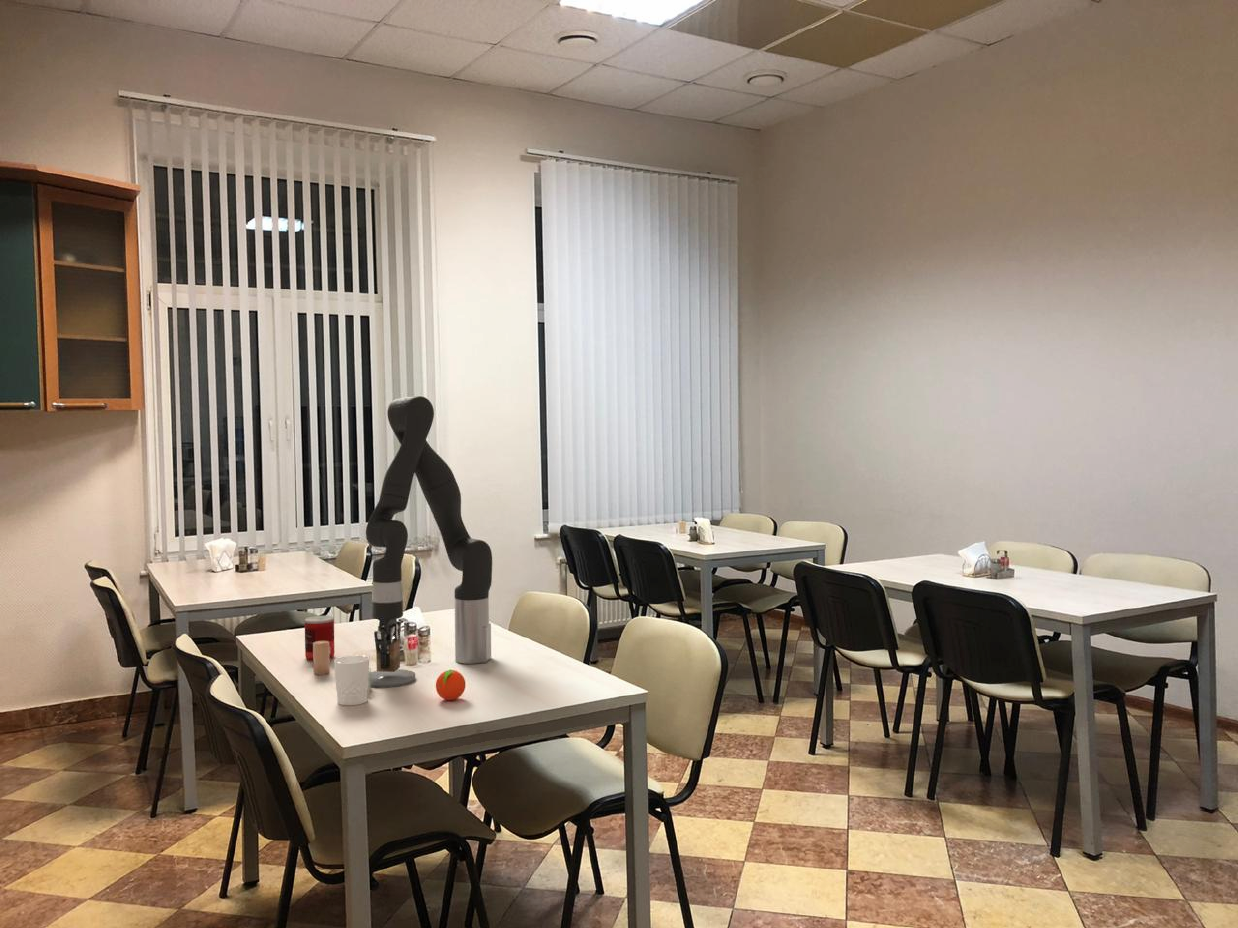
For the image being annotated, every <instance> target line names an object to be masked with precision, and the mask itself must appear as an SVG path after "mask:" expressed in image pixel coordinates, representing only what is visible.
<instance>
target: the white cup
mask: <svg viewBox="0 0 1238 928" xmlns="http://www.w3.org/2000/svg"><path fill="white" fill-rule="evenodd" d="M333 662H334V679H335V680H334V681H335V690H336V697H337V698H336V699H337V704H338V705H340V706H357V705H362V704H365V703H366V702H367V701H368V696H369V694H368V683H369V668H370V657H369V656H367V655H363V654H362V655H360V654H359V655H357V654H356V655H355V654H353V655H345V656H339V657H336V658H335V659H334V660H333Z"/></svg>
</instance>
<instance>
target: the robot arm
mask: <svg viewBox="0 0 1238 928" xmlns="http://www.w3.org/2000/svg"><path fill="white" fill-rule="evenodd" d="M433 406H434V405H433V404H432V402H431V401H430V400H429V399H428V398H427V397H425V396H419V395H416V396H407V397H401V398H396V399H394V400H392V401H391V402H390V403H389V405H388V408H387V419H388V422H389V426H390V428H391V430H392V431H393V433H394V435H395V437H396V438H397V441H398V442H399V444H400V447H399V449H398V451H397V453H396V454H395V456H394V458H393V459H392V461H391V463H390V465H389V466H388V468H387V470H386V472H385V475H384V478H383V481H382V485H381V486H382V487H381V490H380V495H379V500H378V502H377V503H376V505H375V507H374V510H373V511H372V514H371V515H370V518H369V520H368V522H367V525H366V528H365V537H366V540H367V542H368V544H369V545H370V546H371V547H375V548H385V551H384V554H383V556H380V557H377V558H375V559H373V563H372V587H371V588H372V589H371V596H372V597H371V599H372V600H371V604H372V606H371V607H372V608H371V609H372V610H371V611H372V613H371V614H372V615H371V616H372V618H373V619H375V620H378V621H379V622H378V623H379V624H378V626H377V630H375V631H374V632H373V634H374V642H375V651H376V652H377V653H379V654H380V668H381V669H389V668H390V654H389V653H390V645H391V644H392V643H393V640H400V639H401V628H402V622H401V621H399V620H397V619H401V618H402V617H403V616H404V592H403V589H404V588H403V583H402V580H403V579H402V578H403V577H402V576H403V575H402V563H403V560H404V556H405V552H406V548H407V544H408V541H409V540H408V538H409V534H408V528H407V526H406V524H405V523H404V522H403V521H401V520H397V519H393V518H394V516H395V515H396V514H398V513H403V512H404V511H405V510H406V509H407V506H408V503H409V498H410V494H411V489H412V483H413V479H414V475H415V477H416V479H417V482H418V484H419V486H420V489H421V491H422V494H423V497H424V498H425V502H426V503H427V504H428V507H429V509H430V511H431V513H432V516H433V519H434V521H435V523H436V525H437V528H438V530H439V532H440V535H441V536H440V537H441V538H442V542H443V544H444V548H445V551H446V555H447V558H448V561H449V563H450V564H451V565H452V567H453V568H454V569H455V570H458V571H460V572H462V577H461V578H462V579H461V583H460V584H459V585H457V586H456V587H455V588H454V641H455V642H454V656H455V657H454V658H455V659H454V660H455V662H456V663H458V664H467V665H468V664H471V665H472V664H473V665H475V664H481V663H488V662H489V660H490V659H491V658H492V625H491V623H490V612H489V610H490V609H489V608H490V606H489V605H490V601H489V599H490V598H489V597H490V596H489V595H490V589H491V586H492V583H493V582H492V579H493V553H492V549H491V546H490V545H489V544H488V543H487V541H484V540H481V539H476V538H472V537H471V535H470V534H469V532H468V531H467V528H466V526H465V524H464V521H463V516H462V494H461V491H460V487H459V485H458V484H459V483H458V482H457V480H456V478H455V475H454V472H453V471H452V469H451V467H450V466H449V465H448V464H447V462H446V461H445V460H444V459H443V458H442V457H441V456H440V455H439V454H438V453H437V452H436V451H435V450H434V449H433V447H431V445H430V444H429V442H428V440H427V438H428V436H429V433H430V431H431V428H432V425H433V422H434V417H435V409H434V407H433ZM386 640H389V641H386ZM400 641H401V640H400ZM382 645H383V647H384V648H382Z"/></svg>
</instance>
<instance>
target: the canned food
mask: <svg viewBox="0 0 1238 928" xmlns="http://www.w3.org/2000/svg"><path fill="white" fill-rule="evenodd" d="M334 621H335V618H334V616H331V615H315V616H310V617H306V618H305V619H304V652H305V653H304V655H305V659H306V660H308V661H311V662H313V643H314V642H316V641H329V660H331V659H333V658H334V656H335V622H334Z"/></svg>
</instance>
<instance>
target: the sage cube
mask: <svg viewBox="0 0 1238 928" xmlns="http://www.w3.org/2000/svg"><path fill="white" fill-rule="evenodd" d="M371 672H372V671H371V668H370V667H369V683H368V695H369V694H370V692H371V689H372V687H371Z"/></svg>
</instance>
